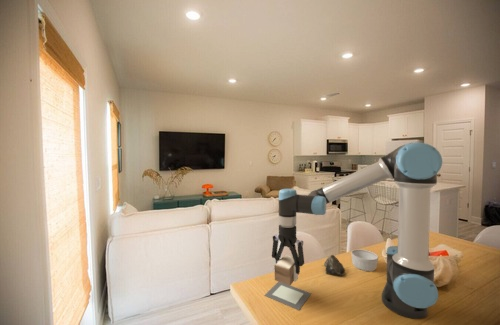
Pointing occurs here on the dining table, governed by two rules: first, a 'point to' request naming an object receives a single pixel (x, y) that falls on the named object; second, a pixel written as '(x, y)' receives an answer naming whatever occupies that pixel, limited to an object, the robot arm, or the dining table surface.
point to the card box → (285, 270)
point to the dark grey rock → (334, 266)
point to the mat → (288, 295)
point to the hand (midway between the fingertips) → (287, 277)
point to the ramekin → (364, 259)
